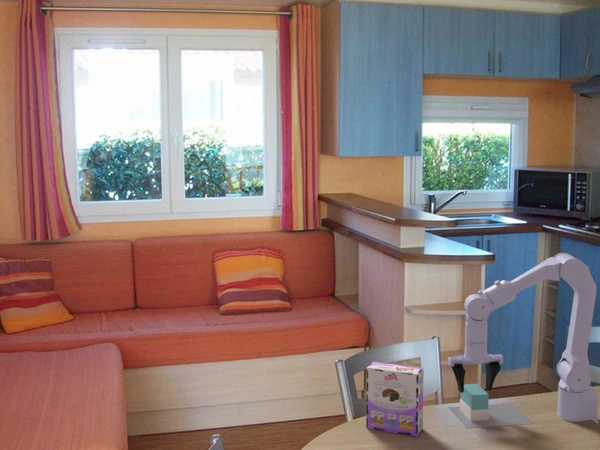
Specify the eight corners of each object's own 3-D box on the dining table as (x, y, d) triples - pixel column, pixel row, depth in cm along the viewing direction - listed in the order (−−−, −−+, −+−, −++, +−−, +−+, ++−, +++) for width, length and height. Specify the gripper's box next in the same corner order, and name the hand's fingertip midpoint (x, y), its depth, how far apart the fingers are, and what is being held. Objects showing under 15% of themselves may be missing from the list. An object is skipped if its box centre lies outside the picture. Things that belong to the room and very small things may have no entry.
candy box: (423, 428, 190) (424, 367, 188) (417, 437, 185) (418, 374, 182) (372, 420, 196) (373, 360, 193) (365, 428, 190) (365, 366, 188)
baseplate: (510, 406, 204) (511, 392, 204) (533, 427, 190) (534, 412, 190) (448, 410, 202) (448, 396, 201) (466, 431, 188) (467, 416, 187)
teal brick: (476, 397, 200) (477, 383, 200) (488, 409, 192) (488, 394, 192) (460, 398, 200) (461, 384, 199) (471, 410, 192) (472, 395, 191)
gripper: (496, 334, 199) (494, 383, 200) (444, 337, 196) (443, 386, 198) (507, 342, 192) (505, 392, 193) (453, 345, 190) (452, 396, 191)
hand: (474, 390), depth 195 cm, fingers open, 7 cm apart
